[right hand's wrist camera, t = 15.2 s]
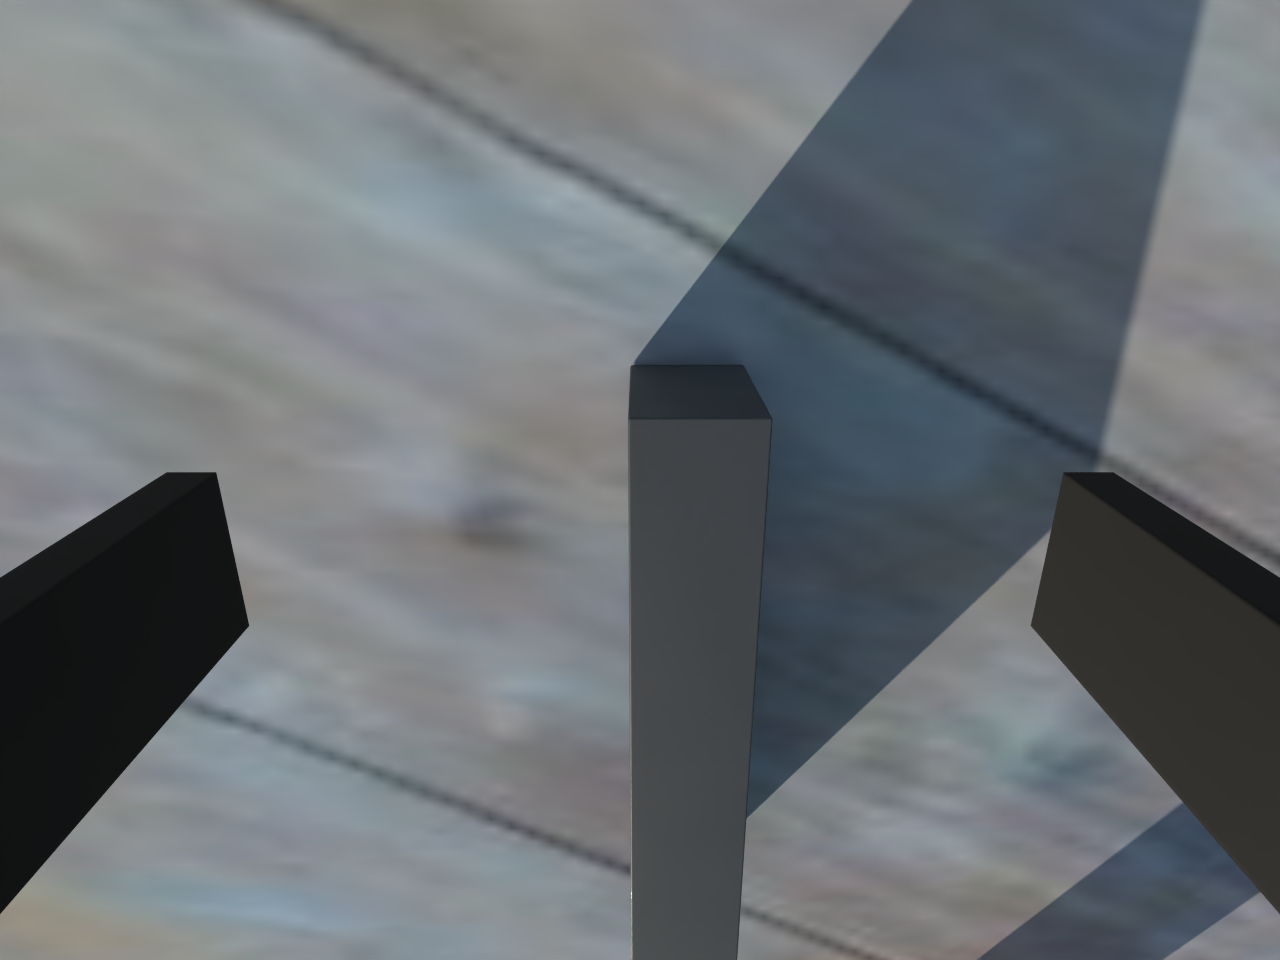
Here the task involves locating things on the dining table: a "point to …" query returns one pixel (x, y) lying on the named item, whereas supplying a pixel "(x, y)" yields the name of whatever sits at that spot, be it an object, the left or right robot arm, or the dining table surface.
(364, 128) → the dining table surface
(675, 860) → the beam
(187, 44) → the dining table surface
